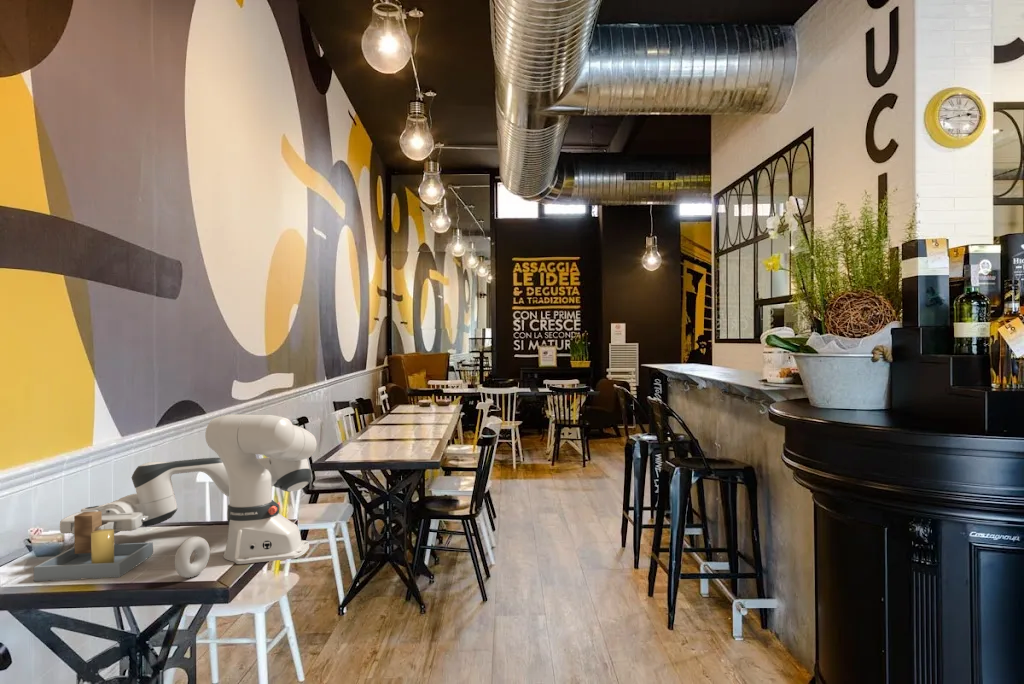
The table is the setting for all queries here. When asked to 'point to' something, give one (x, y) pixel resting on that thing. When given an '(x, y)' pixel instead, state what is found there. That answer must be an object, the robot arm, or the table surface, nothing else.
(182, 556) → the donut
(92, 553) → the mustard cylinder
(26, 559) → the table surface
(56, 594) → the table surface
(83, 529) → the walnut block
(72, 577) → the tray
